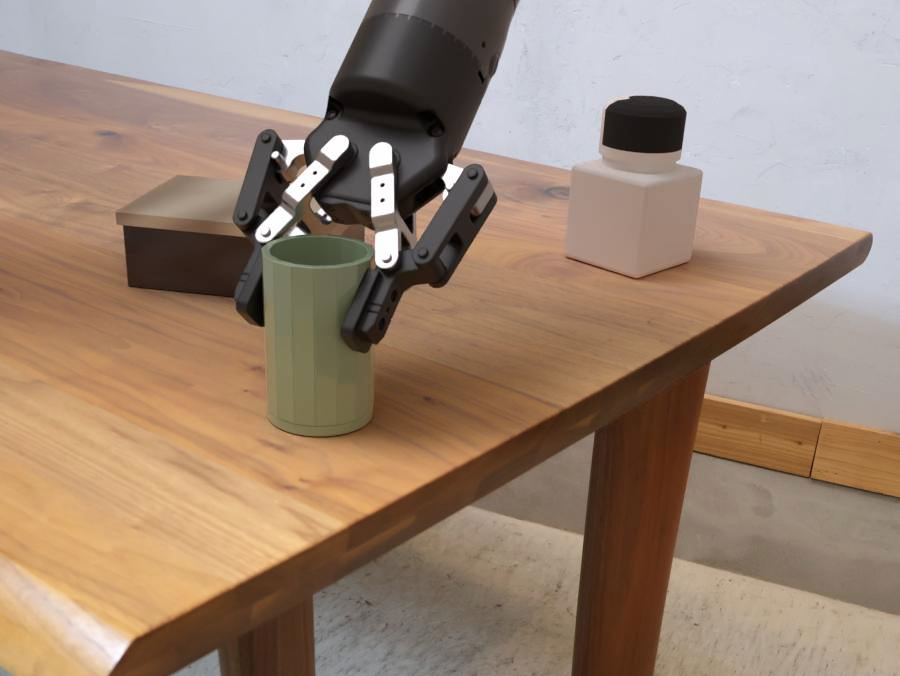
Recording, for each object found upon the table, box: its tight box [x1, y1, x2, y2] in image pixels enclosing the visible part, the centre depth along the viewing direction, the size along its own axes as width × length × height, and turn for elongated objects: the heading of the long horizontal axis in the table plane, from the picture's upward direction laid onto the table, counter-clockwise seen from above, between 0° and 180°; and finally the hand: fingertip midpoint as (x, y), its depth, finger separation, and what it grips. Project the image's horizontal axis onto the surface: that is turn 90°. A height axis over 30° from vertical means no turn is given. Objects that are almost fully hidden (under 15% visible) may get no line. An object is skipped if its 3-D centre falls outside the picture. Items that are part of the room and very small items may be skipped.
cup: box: [261, 234, 377, 438], centre depth 59 cm, size 6×6×9 cm
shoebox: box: [115, 174, 366, 298], centre depth 80 cm, size 15×11×5 cm
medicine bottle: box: [563, 94, 704, 279], centre depth 86 cm, size 7×7×12 cm
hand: (300, 331), depth 58 cm, fingers closed on cup, 5 cm apart
